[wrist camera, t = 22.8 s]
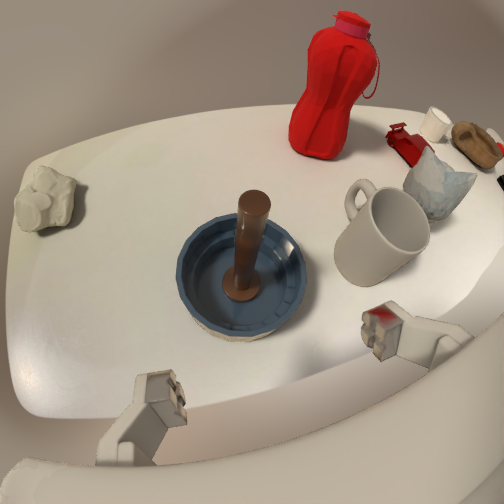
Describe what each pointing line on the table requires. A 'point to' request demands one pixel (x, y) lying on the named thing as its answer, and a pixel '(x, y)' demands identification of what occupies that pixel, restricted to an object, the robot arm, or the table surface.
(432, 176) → the figurine
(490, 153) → the bowl
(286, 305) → the stir bowl
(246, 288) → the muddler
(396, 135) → the toy car
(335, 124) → the water bottle
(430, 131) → the white tapered cup
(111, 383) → the table surface
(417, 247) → the mug
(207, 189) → the table surface
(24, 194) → the decorative stone
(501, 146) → the popsicle
